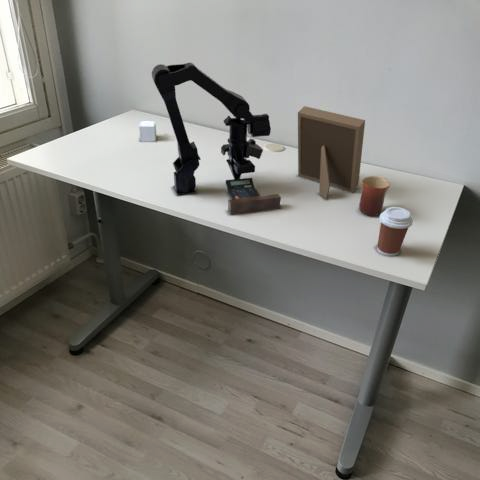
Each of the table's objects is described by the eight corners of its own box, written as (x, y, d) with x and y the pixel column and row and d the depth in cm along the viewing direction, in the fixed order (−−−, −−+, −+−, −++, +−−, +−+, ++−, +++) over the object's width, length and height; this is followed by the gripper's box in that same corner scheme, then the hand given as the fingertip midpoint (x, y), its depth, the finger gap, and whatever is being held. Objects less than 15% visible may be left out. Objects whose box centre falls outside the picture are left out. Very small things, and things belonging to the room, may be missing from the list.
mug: (375, 221, 155) (382, 190, 149) (351, 212, 159) (356, 182, 153) (392, 208, 163) (399, 178, 156) (368, 199, 167) (374, 170, 160)
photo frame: (303, 172, 182) (312, 102, 166) (357, 188, 173) (372, 115, 157) (283, 186, 173) (290, 113, 157) (339, 203, 164) (353, 128, 148)
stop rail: (230, 214, 156) (230, 203, 153) (228, 211, 157) (228, 199, 155) (279, 208, 160) (280, 196, 157) (277, 204, 162) (278, 193, 159)
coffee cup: (405, 260, 138) (416, 222, 131) (372, 256, 140) (381, 218, 132) (402, 243, 145) (413, 206, 138) (371, 239, 146) (380, 203, 139)
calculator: (234, 202, 162) (234, 194, 160) (225, 187, 170) (225, 179, 169) (261, 200, 164) (261, 191, 162) (251, 185, 173) (251, 177, 171)
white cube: (156, 136, 206) (155, 121, 202) (155, 141, 202) (154, 126, 198) (142, 135, 206) (140, 121, 202) (140, 141, 201) (139, 126, 197)
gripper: (271, 145, 156) (268, 190, 167) (251, 125, 170) (249, 168, 180) (238, 149, 154) (237, 195, 164) (220, 128, 167) (220, 171, 177)
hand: (236, 181), depth 171 cm, fingers closed
